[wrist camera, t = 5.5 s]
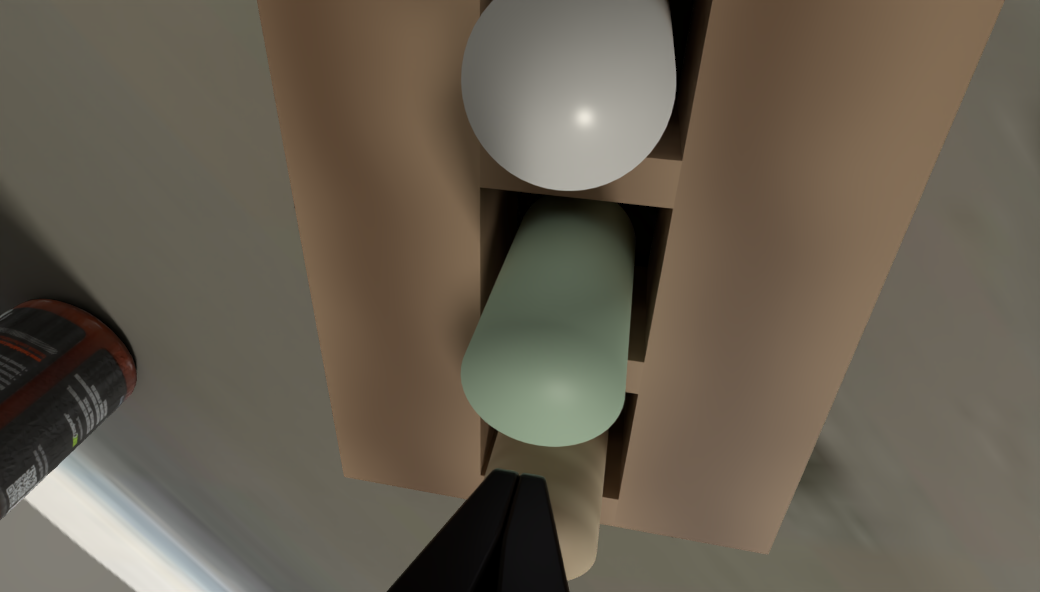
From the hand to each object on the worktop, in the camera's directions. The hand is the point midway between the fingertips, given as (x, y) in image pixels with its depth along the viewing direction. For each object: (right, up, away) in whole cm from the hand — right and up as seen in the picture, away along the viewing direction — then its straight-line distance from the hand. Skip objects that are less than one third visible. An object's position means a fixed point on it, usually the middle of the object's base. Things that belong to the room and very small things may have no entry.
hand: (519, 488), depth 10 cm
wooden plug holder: (+2, +6, +9) cm, 11 cm away
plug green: (+2, +5, +7) cm, 8 cm away
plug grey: (+2, +9, +4) cm, 10 cm away
